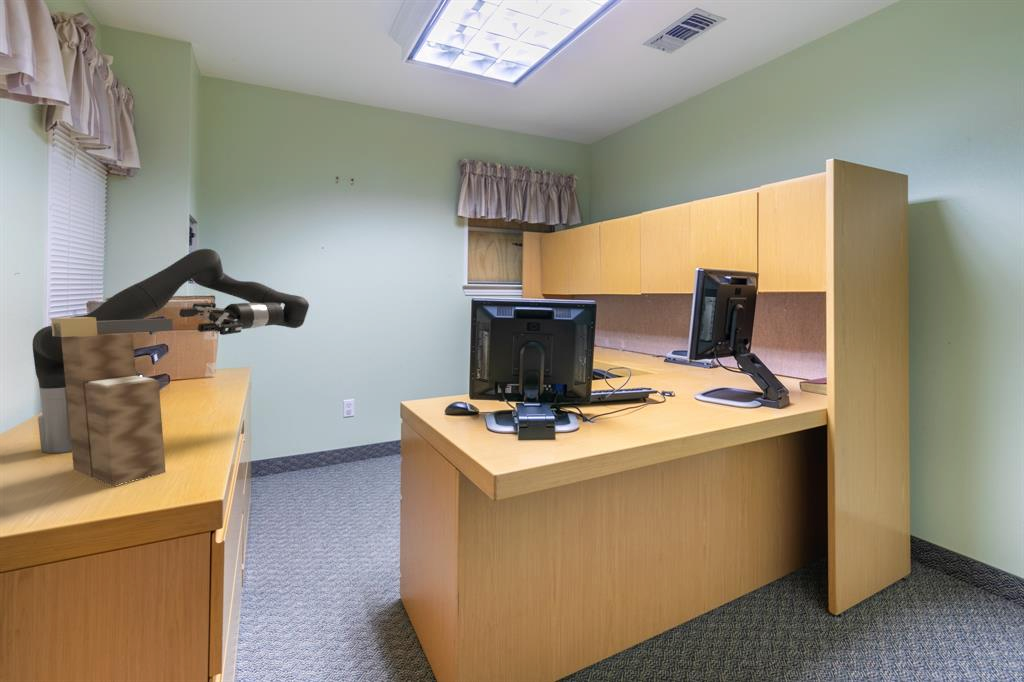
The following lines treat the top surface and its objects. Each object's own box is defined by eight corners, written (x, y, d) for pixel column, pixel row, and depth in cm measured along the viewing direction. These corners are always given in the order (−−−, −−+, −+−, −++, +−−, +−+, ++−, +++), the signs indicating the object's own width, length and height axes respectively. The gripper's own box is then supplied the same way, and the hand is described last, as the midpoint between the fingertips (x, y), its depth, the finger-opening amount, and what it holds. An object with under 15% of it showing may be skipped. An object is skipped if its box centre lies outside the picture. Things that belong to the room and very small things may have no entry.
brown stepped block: (113, 487, 102) (100, 338, 99) (73, 469, 113) (60, 335, 110) (165, 472, 111) (155, 335, 108) (124, 457, 122) (113, 332, 119)
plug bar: (63, 337, 104) (61, 318, 104) (52, 335, 107) (51, 318, 107) (175, 330, 123) (174, 314, 123) (163, 329, 126) (162, 314, 126)
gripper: (235, 293, 142) (176, 295, 128) (265, 315, 137) (207, 320, 123) (230, 316, 144) (172, 320, 130) (259, 338, 139) (202, 345, 125)
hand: (189, 320), depth 126 cm, fingers open, 8 cm apart
